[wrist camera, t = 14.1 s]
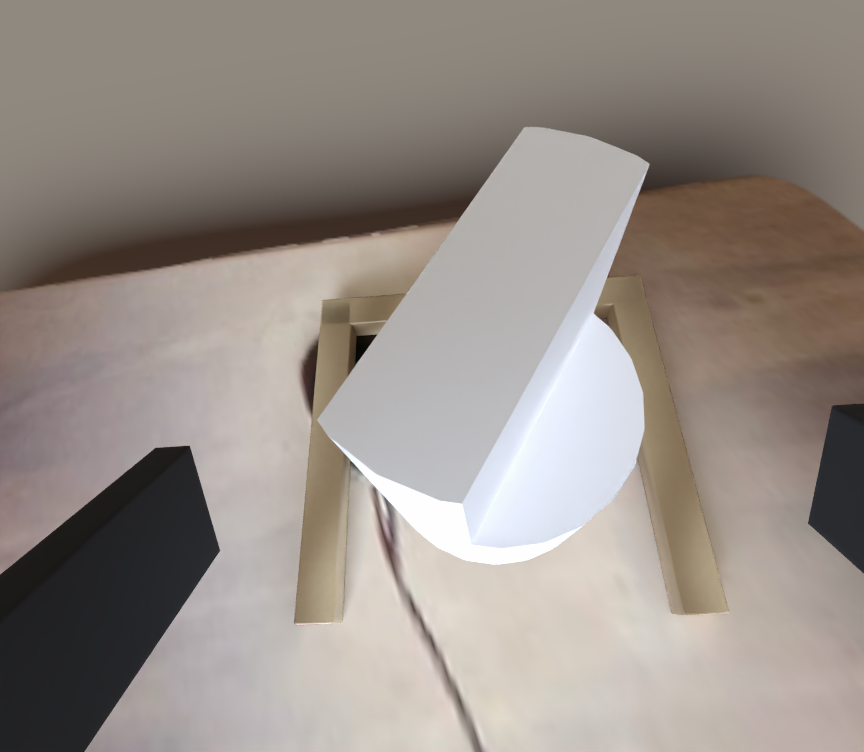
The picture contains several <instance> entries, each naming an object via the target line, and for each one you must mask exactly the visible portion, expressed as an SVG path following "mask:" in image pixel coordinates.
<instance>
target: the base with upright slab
mask: <svg viewBox="0 0 864 752" xmlns="http://www.w3.org/2000/svg"><path fill="white" fill-rule="evenodd" d="M648 167H649V163H647V162H646V161H644V160H643V159H641V158H640V157H638V156H637V155H634V154H632V153H629V152H627V151H624V150H622V149H619V148H617V147H614V146H612V145H609V144H607V143H604V142H602V141H599V140H597V139H595V138H592V137H589V136H584V135H579V134H574V133H568V132H563V131H558V130H553V129H548V128H543V127H524V129H523V130H522V131H521V133H520V134H519V136H518V137H517V138H516V140H515V141H514V143H513V144H512V146H511V147H510V148H509V150H508V151H507V153H506V154H505V155H504V157H503V159H502V160H501V161H500V162H499V164H498V165H497V167H496V168H495V170H494V171H493V172H492V174H491V175H490V177H489V178H488V180H487V181H486V182H485V184H484V185H483V187H482V188H481V189H480V191H479V192H478V194H477V195H476V196H475V198H474V199H473V201H472V202H471V203H470V205H469V206H468V208H467V209H466V210H465V212H464V213H463V215H462V216H461V218H460V219H459V220H458V222H457V223H456V225H455V226H454V227H453V229H452V230H451V232H450V233H449V234H448V236H447V237H446V239H445V240H444V241H443V243H442V244H441V246H440V247H439V249H438V250H437V251H436V253H435V254H434V256H433V257H432V258H431V260H430V261H429V263H428V264H427V265H426V267H425V268H424V270H423V271H422V273H421V274H420V275H419V277H418V278H417V280H416V281H415V282H414V284H413V285H412V287H411V288H410V289H409V291H408V292H407V294H406V295H405V297H404V298H403V299H402V301H401V302H400V304H399V305H398V306H397V308H396V309H395V311H394V312H393V313H392V315H391V316H390V318H389V319H388V321H387V322H386V323H385V325H384V326H383V328H382V329H381V330H380V332H379V333H378V335H377V336H376V337H375V339H374V340H373V342H372V343H371V345H370V346H369V347H368V349H367V350H366V352H365V353H364V354H363V356H362V357H361V359H360V360H359V361H358V363H357V364H356V366H355V367H354V368H353V370H352V371H351V373H350V374H349V376H348V377H347V378H346V380H345V381H344V383H343V384H342V385H341V387H340V388H339V390H338V391H337V392H336V394H335V395H334V397H333V398H332V400H331V401H330V402H329V404H328V405H327V407H326V408H325V409H324V411H323V412H322V414H321V415H320V416H319V418H318V419H317V421H318V422H319V424H320V425H321V427H322V428H323V430H324V431H325V432H326V434H327V435H328V436H329V437H330V439H331V440H332V441H333V442H334V443H335V444H336V445H337V446H338V447H339V448H340V449H341V450H342V451H343V452H344V454H345V455H346V456H347V457H348V458H349V459H350V460H351V461H352V462H353V463H354V464H355V465H356V466H357V467H358V469H359V470H360V471H361V472H362V473H363V474H364V475H365V476H366V477H367V478H368V479H369V480H370V481H371V482H372V484H373V485H374V486H375V487H376V488H377V489H378V490H379V491H380V492H381V493H382V494H383V495H384V496H385V497H386V499H387V500H388V501H389V502H390V503H391V504H392V505H393V506H394V507H395V508H396V509H397V510H398V511H399V512H400V514H401V515H402V516H403V517H404V518H405V519H406V520H407V521H408V522H409V523H410V524H411V525H412V526H413V527H414V529H416V530H417V531H418V532H419V533H420V534H422V535H423V536H424V537H425V538H426V539H428V540H429V541H430V542H431V543H433V544H434V545H435V546H436V547H437V548H439V549H441V550H444V551H446V552H448V553H450V554H453V555H455V556H457V557H459V558H462V559H464V560H467V561H474V562H481V563H488V564H495V565H498V564H505V563H512V562H520V561H527V560H529V559H531V558H533V557H536V556H538V555H540V554H542V553H545V552H547V551H549V550H551V549H554V548H555V547H556V546H558V545H559V544H560V543H561V542H563V541H564V540H565V539H567V538H568V537H569V536H570V535H572V534H573V533H574V532H575V531H577V530H578V529H579V528H581V527H582V526H583V525H584V524H585V523H587V522H588V521H589V520H590V519H591V518H592V517H594V516H595V515H596V514H597V513H598V512H599V511H601V510H602V509H603V508H604V507H605V506H606V505H608V504H609V503H610V502H611V501H612V500H613V499H614V498H615V497H616V495H617V493H618V492H619V490H620V489H621V487H622V486H623V484H624V482H625V481H626V479H627V478H628V476H629V474H630V473H631V471H632V470H633V468H634V466H635V464H636V460H637V456H638V452H639V449H640V445H641V441H642V437H643V433H644V430H645V425H644V402H643V391H642V388H641V385H640V382H639V379H638V376H637V373H636V370H635V367H634V364H633V361H632V359H631V357H630V356H629V354H628V353H627V351H626V350H625V348H624V347H623V345H622V344H621V342H620V341H619V339H618V338H617V337H616V335H615V334H614V332H613V331H612V329H611V328H610V327H608V326H607V325H606V324H605V323H604V322H603V321H602V320H600V319H599V318H598V317H597V316H596V315H595V314H594V311H595V308H596V305H597V303H598V300H599V297H600V295H601V292H602V289H603V287H604V284H605V281H606V279H607V276H608V273H609V271H610V268H611V265H612V263H613V260H614V257H615V255H616V252H617V250H618V247H619V244H620V242H621V239H622V236H623V234H624V231H625V228H626V226H627V223H628V220H629V218H630V215H631V212H632V210H633V207H634V204H635V202H636V199H637V196H638V194H639V191H640V188H641V186H642V183H643V180H644V177H645V175H646V172H647V170H648Z"/></svg>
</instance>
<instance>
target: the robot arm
mask: <svg viewBox="0 0 864 752" xmlns="http://www.w3.org/2000/svg"><path fill="white" fill-rule="evenodd" d="M808 524H809V525H810V526H812V527H813V528H814V529H815V530H816V531H817V532H818V533H819V534H821V535H822V536H823V537H824V538H825V539H826V540H827V541H828V542H829V543H831V544H832V545H833V546H834V547H835V548H836V549H837V550H838V551H839V552H841V553H842V554H843V555H844V556H845V557H846V558H847V559H848V560H849V561H851V562H852V563H853V564H854V565H855V566H856V567H857V568H858V569H860V570H861V571H862V572H863V573H864V404H851V405H835V406H832V409H831V414H830V419H829V424H828V429H827V434H826V438H825V443H824V448H823V453H822V458H821V463H820V468H819V473H818V478H817V482H816V487H815V492H814V497H813V502H812V507H811V512H810V517H809V522H808ZM219 551H220V549H219V546H218V542H217V539H216V535H215V532H214V528H213V525H212V521H211V518H210V514H209V511H208V508H207V504H206V501H205V497H204V494H203V490H202V487H201V483H200V480H199V476H198V473H197V469H196V466H195V463H194V459H193V456H192V452H191V449H190V446H179V447H163V448H155V449H154V450H153V451H151V452H150V453H149V454H148V455H146V456H145V457H144V458H143V459H142V460H140V461H139V462H138V463H137V464H135V465H134V466H133V467H132V468H131V469H129V470H128V471H127V472H126V473H124V474H123V475H122V476H121V477H119V478H118V479H117V480H116V481H115V482H113V483H112V484H111V485H110V486H108V487H107V488H106V489H105V490H104V491H102V492H101V493H100V494H99V495H97V496H96V497H95V498H94V499H93V500H91V501H90V502H89V503H88V504H86V505H85V506H84V507H83V508H82V509H80V510H79V511H78V512H77V513H75V514H74V515H73V516H72V517H70V518H69V519H68V520H67V521H66V522H64V523H63V524H62V525H61V526H59V527H58V528H57V529H56V530H55V531H53V532H52V533H51V534H50V535H48V536H47V537H46V538H45V539H44V540H42V541H41V542H40V543H39V544H37V545H36V546H35V547H34V548H33V549H31V550H30V551H29V552H28V553H26V554H25V555H24V556H23V557H21V558H20V559H19V560H18V561H17V562H15V563H14V564H13V565H12V566H10V567H9V568H8V569H7V570H6V571H4V572H3V573H2V574H1V575H0V752H84V751H85V750H86V748H87V747H88V745H89V744H90V742H91V741H92V739H93V738H94V736H95V735H96V733H97V732H98V731H99V729H100V728H101V726H102V725H103V723H104V722H105V720H106V719H107V717H108V716H109V714H110V713H111V711H112V710H113V708H114V707H115V705H116V704H117V702H118V701H119V699H120V698H121V696H122V695H123V694H124V692H125V691H126V689H127V688H128V686H129V685H130V683H131V682H132V680H133V679H134V677H135V676H136V674H137V673H138V671H139V670H140V668H141V667H142V665H143V664H144V662H145V661H146V659H147V658H148V656H149V655H150V654H151V652H152V651H153V649H154V648H155V646H156V645H157V643H158V642H159V640H160V639H161V637H162V636H163V634H164V633H165V631H166V630H167V628H168V627H169V625H170V624H171V622H172V621H173V619H174V618H175V617H176V615H177V614H178V612H179V611H180V609H181V608H182V606H183V605H184V603H185V602H186V600H187V599H188V597H189V596H190V594H191V593H192V591H193V590H194V588H195V587H196V585H197V584H198V582H199V581H200V579H201V578H202V577H203V575H204V574H205V572H206V571H207V569H208V568H209V566H210V565H211V563H212V562H213V560H214V559H215V557H216V556H217V554H218V553H219Z"/></svg>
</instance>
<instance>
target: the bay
mask: <svg viewBox="0 0 864 752" xmlns="http://www.w3.org/2000/svg"><path fill="white" fill-rule="evenodd" d="M405 295H406V294H394V295H381V296H369V297H356V298H344V299H331V300H323V301H322V310H321V322H320V334H319V345H318V357H317V368H316V379H315V391H314V402H313V414H312V425H311V436H310V448H309V459H308V471H307V482H306V494H305V505H304V516H303V528H302V539H301V551H300V562H299V573H298V585H297V596H296V608H295V619H294V624H295V625H318V624H337V623H342V621H343V603H344V583H345V562H346V542H347V521H348V501H349V480H350V459H349V458H348V457H347V456H346V455H345V454H344V452H343V451H342V450H341V449H340V448H339V447H338V446H337V445H336V444H335V443H334V442H333V441H332V440H331V439H330V437H329V436H328V435H327V434H326V432H325V431H324V430H323V428H322V427H321V425H320V424H319V422H318V421H317V419H318V418H319V416H320V415H321V414H322V412H323V411H324V409H325V408H326V407H327V405H328V404H329V402H330V401H331V400H332V398H333V397H334V395H335V394H336V392H337V391H338V390H339V388H340V387H341V385H342V384H343V383H344V381H345V380H346V378H347V377H348V376H349V374H350V373H351V371H352V370H353V368H354V367H355V357H356V337H357V336H363V335H377V334H378V333H379V332H380V330H381V329H382V328H383V326H384V325H385V323H386V322H387V321H388V319H389V318H390V316H391V315H392V313H393V312H394V311H395V309H396V308H397V306H398V305H399V304H400V302H401V301H402V299H403V298H404V297H405ZM594 314H595V315H596V316H597V317H598V318H607V319H608V323H609V327H610V328H611V329H612V331H613V332H614V334H615V335H616V337H617V338H618V339H619V341H620V342H621V344H622V345H623V347H624V348H625V350H626V351H627V353H628V354H629V356H630V357H631V359H632V361H633V364H634V367H635V370H636V373H637V376H638V379H639V382H640V385H641V388H642V391H643V402H644V425H645V430H644V433H643V437H642V441H641V445H640V449H639V452H638V456H637V457H638V461H639V466H640V470H641V475H642V480H643V484H644V489H645V493H646V498H647V503H648V507H649V512H650V516H651V521H652V526H653V530H654V535H655V539H656V544H657V549H658V553H659V558H660V562H661V567H662V572H663V576H664V581H665V585H666V590H667V595H668V599H669V604H670V608H671V613H672V614H678V615H700V614H728V613H729V610H728V606H727V602H726V599H725V595H724V591H723V587H722V584H721V580H720V576H719V572H718V568H717V565H716V561H715V557H714V553H713V549H712V546H711V542H710V538H709V534H708V531H707V527H706V523H705V519H704V515H703V512H702V508H701V504H700V500H699V496H698V493H697V489H696V485H695V481H694V478H693V474H692V470H691V466H690V462H689V459H688V455H687V451H686V447H685V443H684V440H683V436H682V432H681V428H680V425H679V421H678V417H677V413H676V409H675V406H674V402H673V398H672V394H671V390H670V387H669V383H668V379H667V375H666V371H665V368H664V364H663V360H662V356H661V353H660V349H659V345H658V341H657V337H656V334H655V330H654V326H653V322H652V318H651V315H650V311H649V307H648V303H647V300H646V296H645V292H644V288H643V284H642V281H641V277H640V275H631V276H619V277H608V278H607V279H606V281H605V284H604V287H603V289H602V292H601V295H600V297H599V300H598V303H597V305H596V308H595V311H594Z"/></svg>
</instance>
